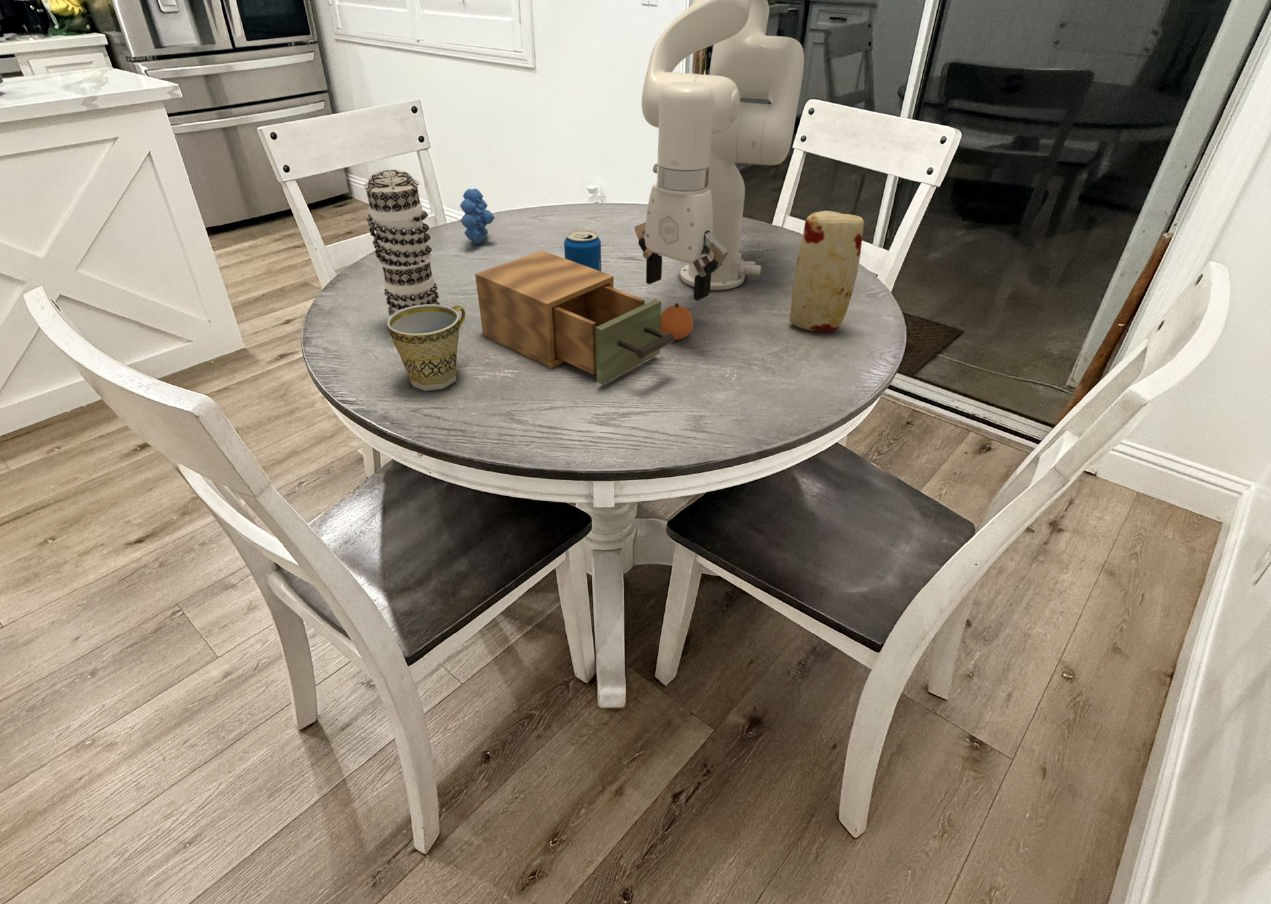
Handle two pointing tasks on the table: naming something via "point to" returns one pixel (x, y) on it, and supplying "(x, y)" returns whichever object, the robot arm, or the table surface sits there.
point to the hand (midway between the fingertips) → (676, 289)
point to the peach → (676, 321)
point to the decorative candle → (401, 239)
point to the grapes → (475, 215)
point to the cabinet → (531, 300)
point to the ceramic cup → (427, 343)
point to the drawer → (608, 332)
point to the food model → (826, 270)
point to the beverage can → (583, 248)
